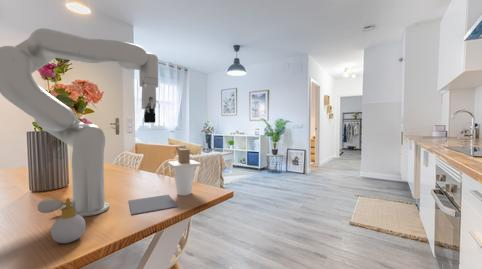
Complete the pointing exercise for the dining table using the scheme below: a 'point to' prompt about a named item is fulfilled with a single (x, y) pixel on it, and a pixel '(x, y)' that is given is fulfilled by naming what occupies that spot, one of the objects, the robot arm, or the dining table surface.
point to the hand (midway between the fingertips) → (149, 122)
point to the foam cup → (184, 180)
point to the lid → (183, 160)
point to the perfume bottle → (64, 220)
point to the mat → (151, 204)
